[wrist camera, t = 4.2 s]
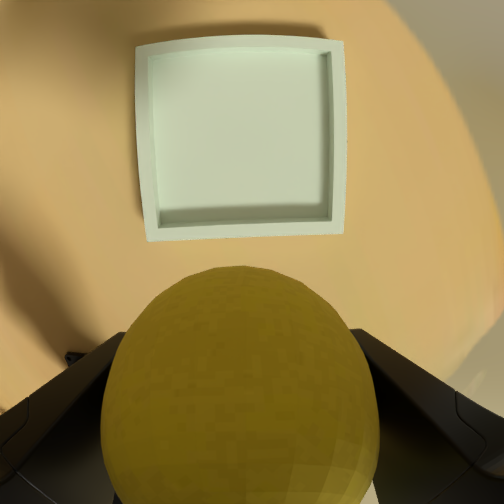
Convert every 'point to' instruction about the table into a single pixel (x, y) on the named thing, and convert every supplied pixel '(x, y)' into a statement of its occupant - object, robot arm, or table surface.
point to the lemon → (240, 397)
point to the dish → (241, 136)
